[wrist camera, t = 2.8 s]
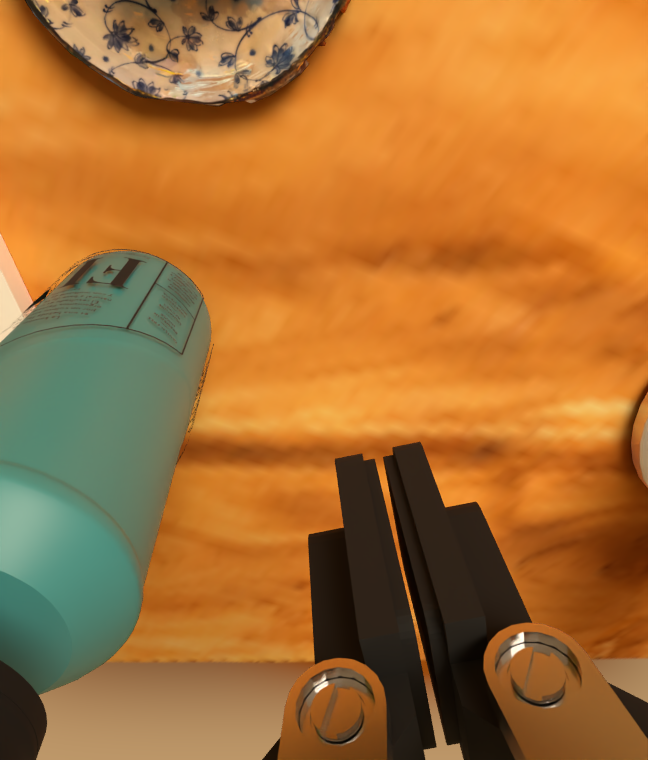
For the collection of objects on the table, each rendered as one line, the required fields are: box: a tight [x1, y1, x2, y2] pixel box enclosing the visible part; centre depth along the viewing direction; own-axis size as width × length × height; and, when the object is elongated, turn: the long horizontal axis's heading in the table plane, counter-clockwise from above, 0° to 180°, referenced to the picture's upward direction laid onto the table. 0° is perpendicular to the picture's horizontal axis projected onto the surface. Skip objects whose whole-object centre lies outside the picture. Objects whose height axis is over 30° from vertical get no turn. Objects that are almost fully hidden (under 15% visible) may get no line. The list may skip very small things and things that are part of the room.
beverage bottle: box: [0, 249, 214, 760], centre depth 16 cm, size 6×7×20 cm
